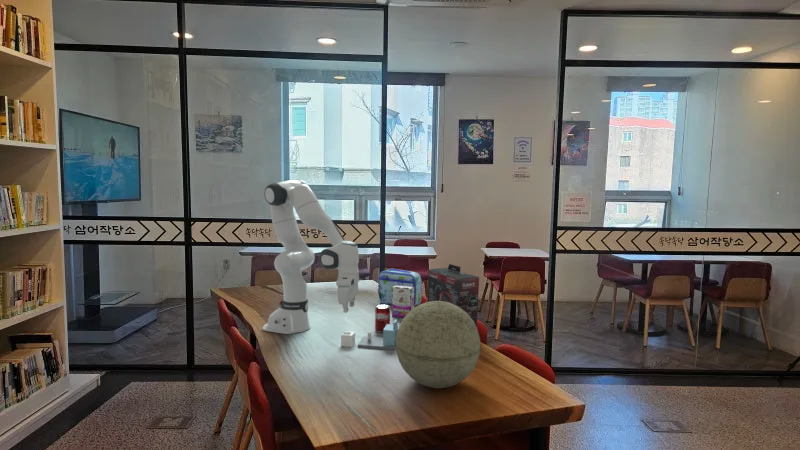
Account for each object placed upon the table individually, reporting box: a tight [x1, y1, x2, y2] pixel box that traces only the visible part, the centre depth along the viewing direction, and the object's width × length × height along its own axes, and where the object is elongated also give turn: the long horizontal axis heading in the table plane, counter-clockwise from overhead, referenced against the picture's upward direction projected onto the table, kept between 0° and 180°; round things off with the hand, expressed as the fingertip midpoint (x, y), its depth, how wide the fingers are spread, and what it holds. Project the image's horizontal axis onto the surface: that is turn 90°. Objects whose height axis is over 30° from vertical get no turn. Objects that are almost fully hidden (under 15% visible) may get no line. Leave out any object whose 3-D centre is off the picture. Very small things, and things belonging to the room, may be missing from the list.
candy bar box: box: [391, 285, 415, 319], centre depth 246 cm, size 11×5×16 cm, turn 68°
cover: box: [382, 319, 399, 346], centre depth 202 cm, size 5×8×10 cm, turn 171°
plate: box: [357, 331, 396, 351], centre depth 204 cm, size 16×11×5 cm
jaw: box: [340, 331, 356, 348], centre depth 203 cm, size 5×5×5 cm
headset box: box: [427, 263, 480, 328], centre depth 219 cm, size 25×12×33 cm, turn 32°
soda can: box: [374, 304, 391, 334], centre depth 222 cm, size 7×7×12 cm
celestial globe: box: [395, 301, 481, 389], centre depth 163 cm, size 30×30×30 cm
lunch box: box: [377, 267, 423, 307], centre depth 269 cm, size 26×11×21 cm, turn 58°
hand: (348, 309), depth 202 cm, fingers open, 8 cm apart
